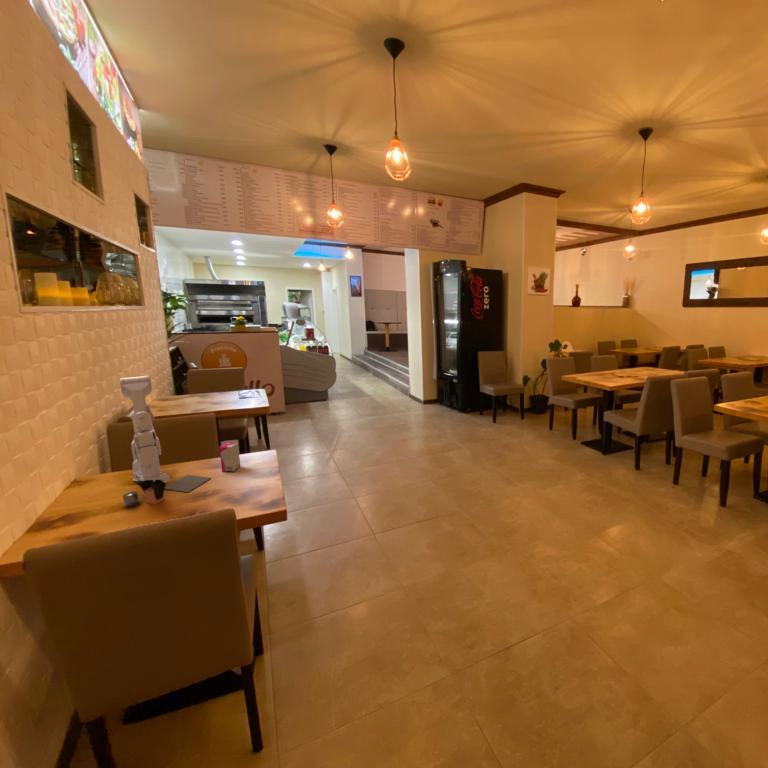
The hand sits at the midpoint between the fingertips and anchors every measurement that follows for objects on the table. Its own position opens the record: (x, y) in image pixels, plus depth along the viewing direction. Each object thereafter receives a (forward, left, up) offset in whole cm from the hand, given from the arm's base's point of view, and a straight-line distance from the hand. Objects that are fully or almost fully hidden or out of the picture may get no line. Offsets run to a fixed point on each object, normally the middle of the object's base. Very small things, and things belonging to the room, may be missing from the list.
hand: (155, 497), depth 133 cm
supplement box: (+9, +30, -2) cm, 31 cm away
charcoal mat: (+1, +14, -1) cm, 14 cm away
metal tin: (-6, -4, -2) cm, 8 cm away
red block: (0, 0, -1) cm, 1 cm away
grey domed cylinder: (-7, +4, -2) cm, 8 cm away
